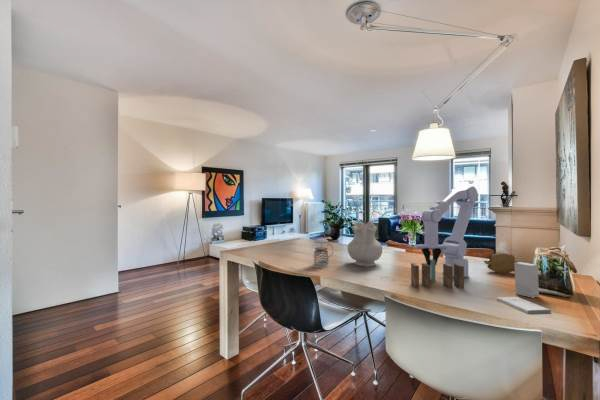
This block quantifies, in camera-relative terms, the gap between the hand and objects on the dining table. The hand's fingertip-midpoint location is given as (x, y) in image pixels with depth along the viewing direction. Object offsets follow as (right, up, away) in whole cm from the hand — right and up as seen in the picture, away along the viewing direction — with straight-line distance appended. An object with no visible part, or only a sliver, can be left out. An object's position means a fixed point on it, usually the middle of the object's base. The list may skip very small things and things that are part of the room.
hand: (431, 264), depth 129 cm
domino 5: (+6, -6, -11) cm, 15 cm away
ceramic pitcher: (-24, -7, +29) cm, 38 cm away
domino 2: (-7, -6, -10) cm, 14 cm away
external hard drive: (+16, -7, -33) cm, 38 cm away
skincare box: (+25, -7, -23) cm, 35 cm away
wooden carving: (+40, -7, +10) cm, 42 cm away
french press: (-48, -7, +27) cm, 55 cm away
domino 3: (0, -6, 0) cm, 6 cm away
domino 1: (-12, -7, -10) cm, 17 cm away
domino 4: (+2, -6, -11) cm, 13 cm away
